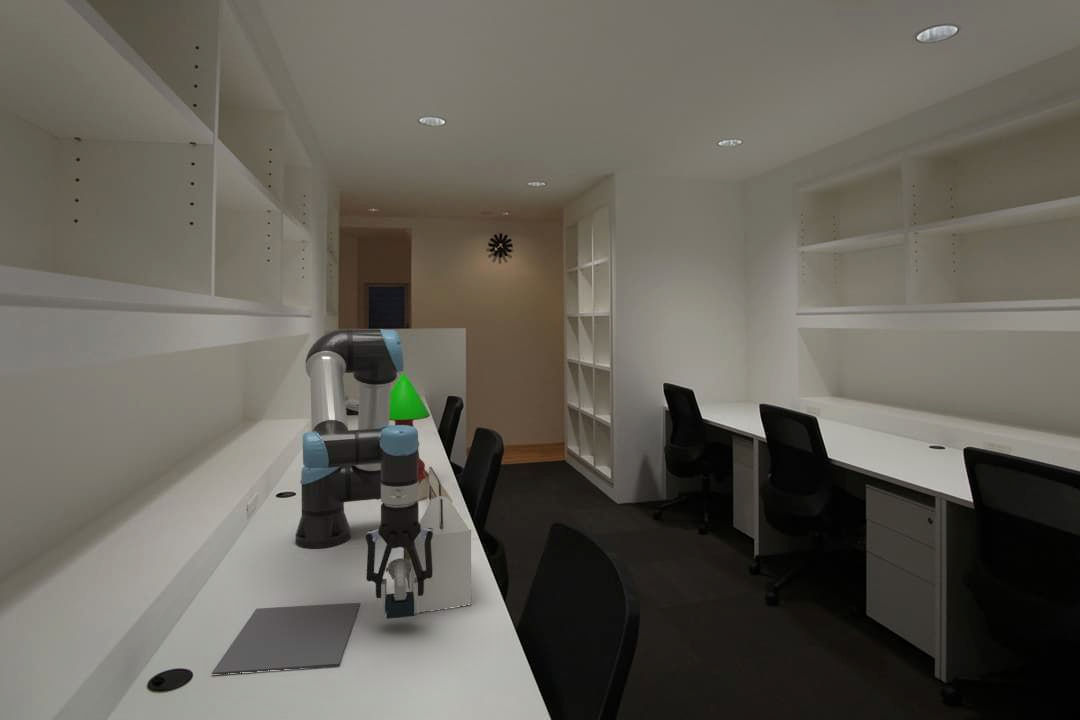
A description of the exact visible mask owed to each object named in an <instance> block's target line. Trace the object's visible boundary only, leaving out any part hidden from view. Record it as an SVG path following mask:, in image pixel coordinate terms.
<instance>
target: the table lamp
mask: <svg viewBox="0 0 1080 720" xmlns="http://www.w3.org/2000/svg"><path fill="white" fill-rule="evenodd" d="M402 372H403V373H402V374H401V375H400V376H399V378H398V380H397V382H396V383H395V384H394V386H393V387H392V388H391V393H390V413H389V421H393V422H394V425H408V426H413V427H415V425H414V423H413V422H414V420H415V421H416V420H418V421H419V420H422V419H427V418H429V417H430V416H431V414H430V412H429V410H428V409H427V407H426V405H425V403H424V402H423V399H422V397H421V396H420V395H419V392H418V391H417V389H416V388H415V386H414V385H413V383H412V382H411V380H410V379H409V377H408V376H407V375H406V373H405V372H404V371H402ZM425 468H426V464H425V462H424V461H423V460H422V459H421V458H420V451H418V480H419V483H420V482H421V481H422V480H423V479H424V478H426V477H428V476H429V471H427V470H425ZM423 471H424V473H425V475H426V477H425V475H424V473H423Z"/></svg>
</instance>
